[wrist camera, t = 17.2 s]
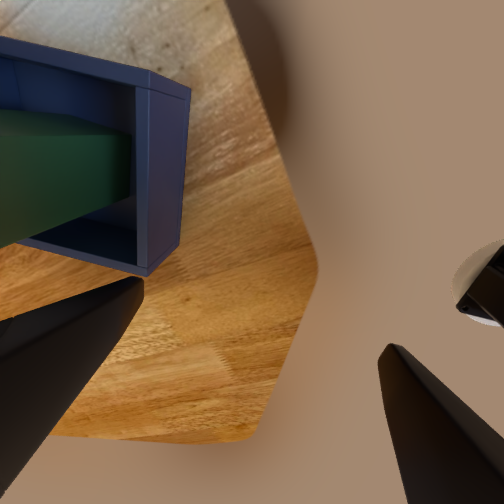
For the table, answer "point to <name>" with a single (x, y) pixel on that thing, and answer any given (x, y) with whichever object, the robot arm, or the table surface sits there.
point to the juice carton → (57, 170)
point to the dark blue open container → (120, 118)
